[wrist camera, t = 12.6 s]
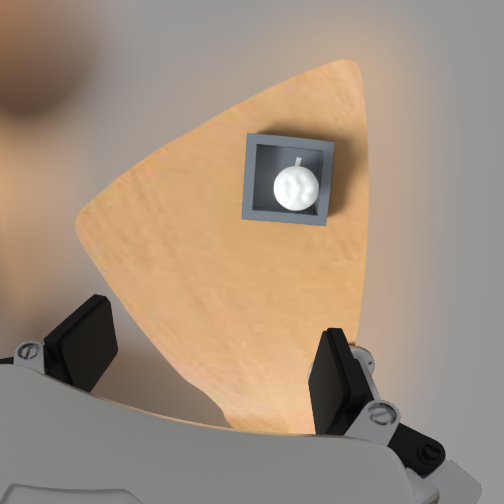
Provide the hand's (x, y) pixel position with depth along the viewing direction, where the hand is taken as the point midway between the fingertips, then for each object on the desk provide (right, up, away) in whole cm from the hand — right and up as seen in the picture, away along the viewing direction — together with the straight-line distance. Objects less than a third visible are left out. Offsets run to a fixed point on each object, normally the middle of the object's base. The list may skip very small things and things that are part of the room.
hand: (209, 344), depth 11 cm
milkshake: (+7, +13, +24) cm, 28 cm away
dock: (+6, +13, +24) cm, 28 cm away
